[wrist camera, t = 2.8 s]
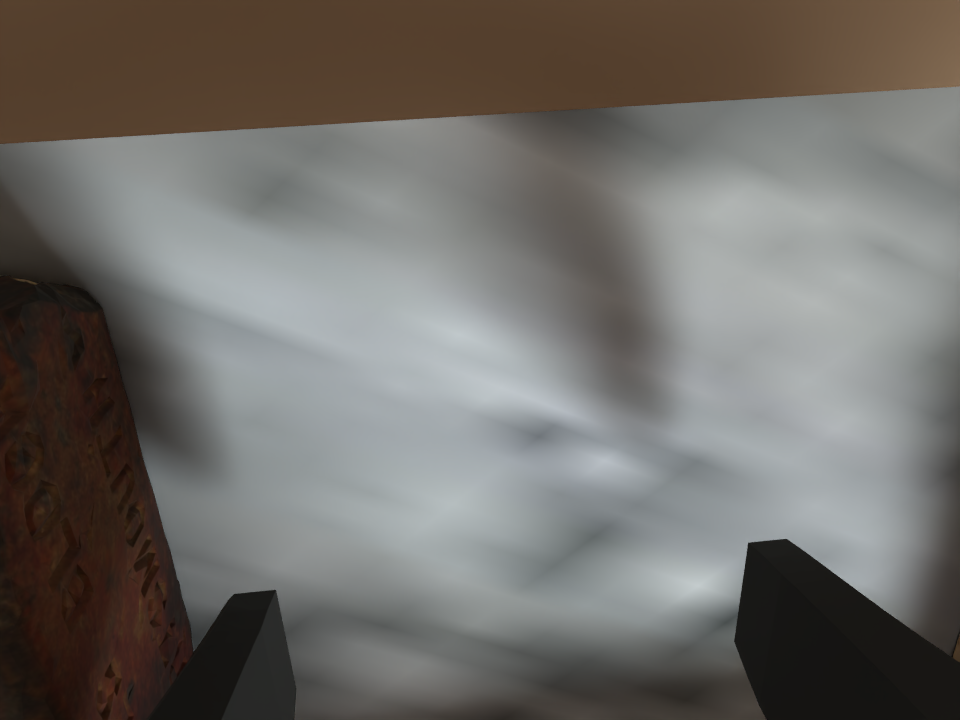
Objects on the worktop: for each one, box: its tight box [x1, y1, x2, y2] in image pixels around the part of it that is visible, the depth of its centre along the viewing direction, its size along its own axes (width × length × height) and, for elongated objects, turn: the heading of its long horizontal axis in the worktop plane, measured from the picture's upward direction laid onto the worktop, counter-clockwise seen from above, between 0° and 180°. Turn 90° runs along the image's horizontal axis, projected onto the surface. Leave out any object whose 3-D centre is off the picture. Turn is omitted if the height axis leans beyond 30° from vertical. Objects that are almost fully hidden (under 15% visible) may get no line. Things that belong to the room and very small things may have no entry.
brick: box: [0, 275, 193, 720], centre depth 11 cm, size 11×4×5 cm, turn 2°
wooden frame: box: [0, 0, 960, 662], centre depth 12 cm, size 17×22×4 cm
